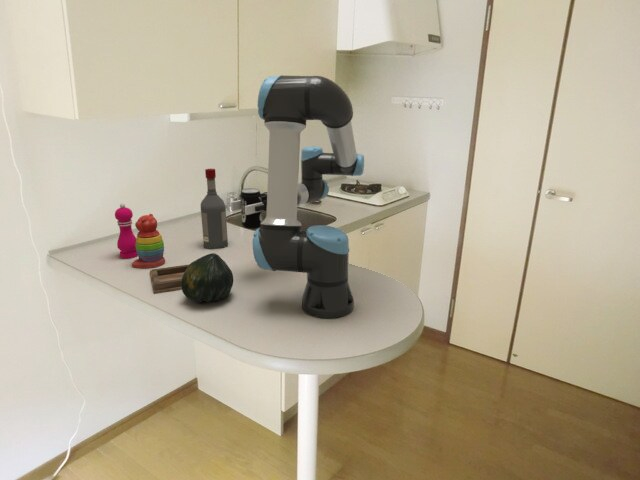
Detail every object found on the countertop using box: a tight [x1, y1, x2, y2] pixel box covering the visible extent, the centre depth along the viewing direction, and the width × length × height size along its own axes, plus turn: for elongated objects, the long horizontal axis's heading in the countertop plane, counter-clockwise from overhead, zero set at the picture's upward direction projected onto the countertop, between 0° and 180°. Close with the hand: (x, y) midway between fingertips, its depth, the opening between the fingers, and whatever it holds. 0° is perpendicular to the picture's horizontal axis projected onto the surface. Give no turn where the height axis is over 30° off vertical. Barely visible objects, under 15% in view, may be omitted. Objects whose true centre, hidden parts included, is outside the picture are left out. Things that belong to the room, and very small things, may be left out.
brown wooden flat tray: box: [149, 263, 191, 294], centre depth 160 cm, size 18×16×3 cm
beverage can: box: [240, 187, 263, 230], centre depth 156 cm, size 7×7×12 cm
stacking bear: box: [131, 213, 166, 269], centre depth 170 cm, size 11×10×18 cm
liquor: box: [200, 168, 229, 250], centre depth 187 cm, size 9×9×30 cm
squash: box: [182, 252, 234, 303], centre depth 145 cm, size 14×15×15 cm
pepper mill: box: [114, 202, 138, 260], centre depth 177 cm, size 7×7×20 cm
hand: (238, 208), depth 152 cm, fingers closed on beverage can, 6 cm apart
